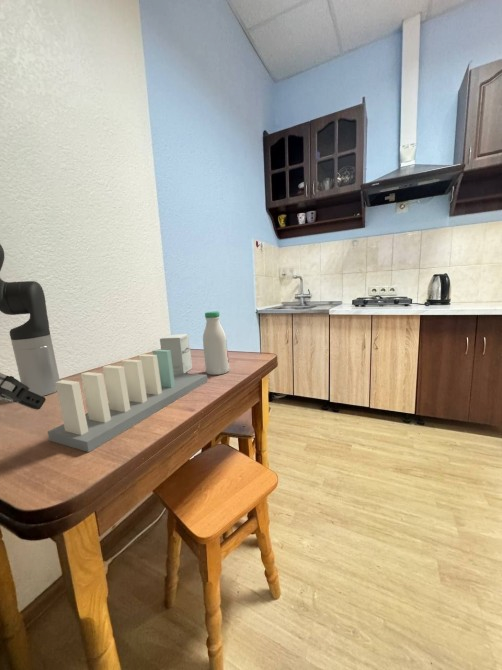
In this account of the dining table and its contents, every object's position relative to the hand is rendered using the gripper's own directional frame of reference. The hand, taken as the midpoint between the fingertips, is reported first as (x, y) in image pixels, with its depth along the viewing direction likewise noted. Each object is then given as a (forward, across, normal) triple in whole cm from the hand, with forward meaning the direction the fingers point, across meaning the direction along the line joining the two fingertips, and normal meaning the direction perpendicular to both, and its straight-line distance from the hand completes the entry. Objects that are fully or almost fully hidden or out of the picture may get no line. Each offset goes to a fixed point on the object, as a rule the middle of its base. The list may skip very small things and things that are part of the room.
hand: (40, 403), depth 48 cm
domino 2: (+13, 0, -2) cm, 13 cm away
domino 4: (+20, 0, -9) cm, 21 cm away
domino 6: (+27, 0, -16) cm, 31 cm away
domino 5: (+23, 0, -12) cm, 26 cm away
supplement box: (+40, +10, -26) cm, 49 cm away
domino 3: (+16, 0, -5) cm, 17 cm away
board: (+22, 0, -9) cm, 24 cm away
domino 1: (+9, 0, +2) cm, 9 cm away
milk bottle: (+42, -4, -28) cm, 51 cm away
